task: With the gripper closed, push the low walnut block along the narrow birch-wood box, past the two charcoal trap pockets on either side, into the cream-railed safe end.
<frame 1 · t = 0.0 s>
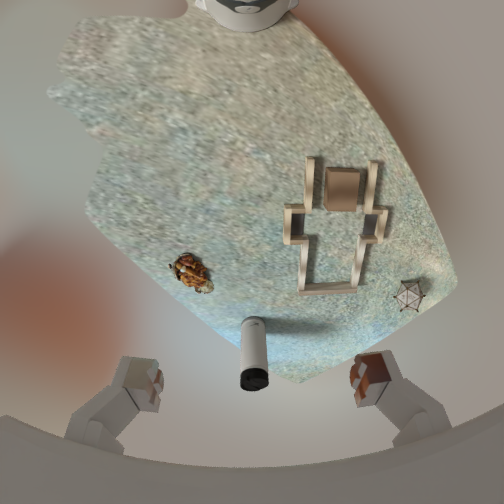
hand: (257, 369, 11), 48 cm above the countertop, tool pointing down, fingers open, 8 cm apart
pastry: (194, 272, 67), on the countertop
game die: (403, 286, 70), on the countertop
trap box: (334, 222, 60), on the countertop
travel mug: (252, 323, 75), on the countertop
walnut block: (338, 186, 56), on the countertop
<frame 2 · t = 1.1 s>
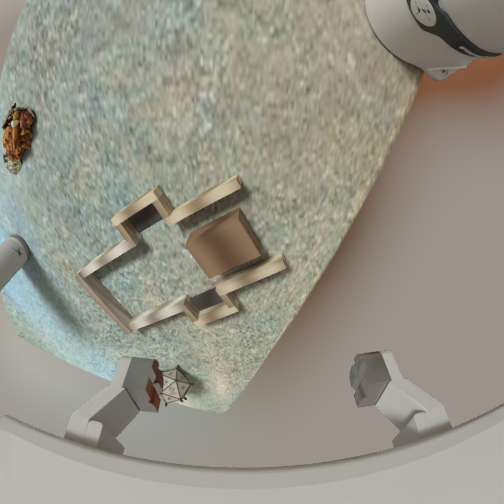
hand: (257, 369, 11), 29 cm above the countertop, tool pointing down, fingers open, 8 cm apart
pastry: (20, 139, 32), on the countertop
game die: (174, 370, 58), on the countertop
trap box: (179, 259, 43), on the countertop
travel mug: (19, 246, 42), on the countertop
walnut block: (225, 236, 41), on the countertop
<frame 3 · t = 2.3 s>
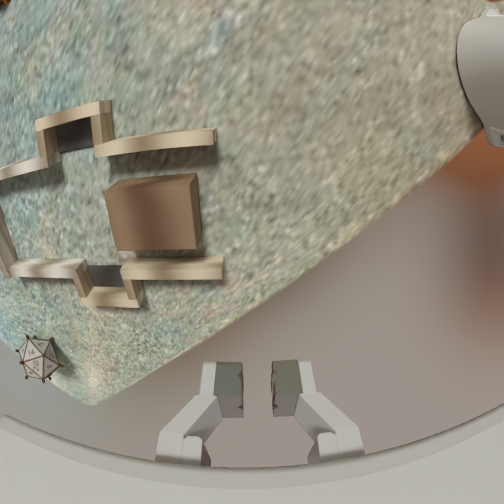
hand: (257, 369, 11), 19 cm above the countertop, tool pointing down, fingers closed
game die: (48, 341, 39), on the countertop
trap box: (92, 210, 27), on the countertop
walnut block: (161, 204, 28), on the countertop
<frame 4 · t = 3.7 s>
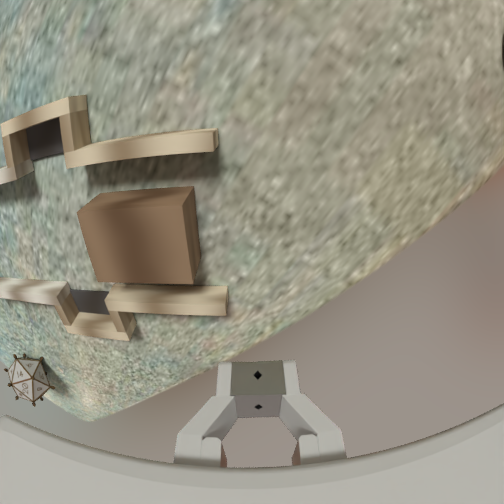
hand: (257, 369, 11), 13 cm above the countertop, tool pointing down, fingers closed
game die: (38, 360, 34), on the countertop
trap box: (71, 228, 22), on the countertop
walnut block: (150, 223, 22), on the countertop
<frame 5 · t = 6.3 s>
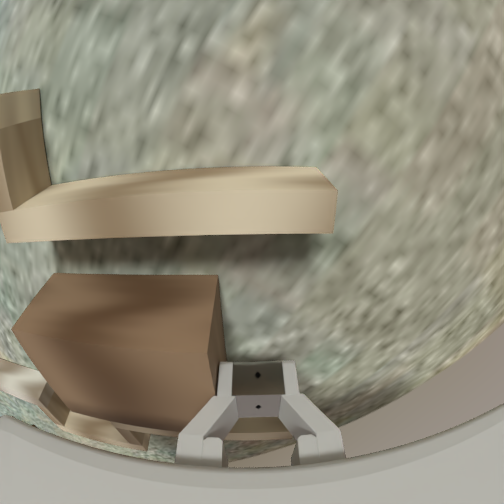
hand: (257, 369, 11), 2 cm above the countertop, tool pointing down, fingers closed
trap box: (42, 317, 13), on the countertop
walnut block: (140, 325, 13), on the countertop, touching gripper
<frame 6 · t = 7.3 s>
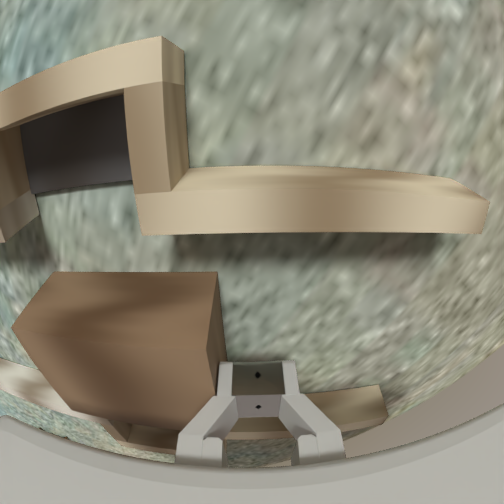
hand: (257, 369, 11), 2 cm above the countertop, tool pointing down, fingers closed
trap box: (128, 325, 13), on the countertop
walnut block: (140, 323, 13), on the countertop
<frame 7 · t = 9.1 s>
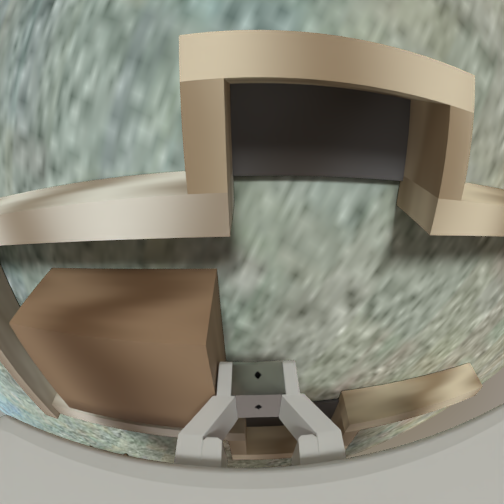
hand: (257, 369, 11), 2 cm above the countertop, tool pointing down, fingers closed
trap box: (306, 328, 13), on the countertop
walnut block: (139, 320, 13), on the countertop, touching gripper
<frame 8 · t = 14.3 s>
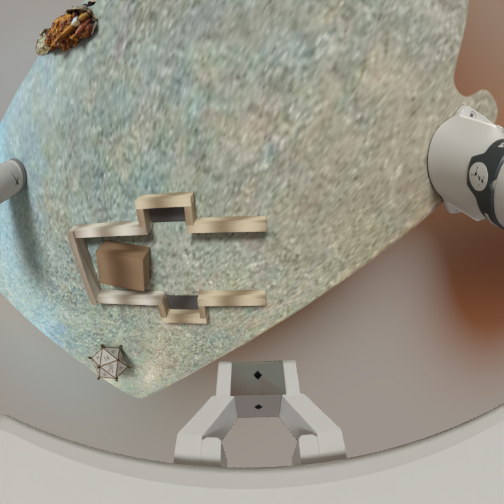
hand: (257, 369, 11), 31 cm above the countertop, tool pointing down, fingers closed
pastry: (67, 33, 26), on the countertop
game die: (114, 348, 56), on the countertop
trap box: (176, 260, 45), on the countertop
travel mug: (16, 173, 36), on the countertop
walnut block: (128, 258, 45), on the countertop
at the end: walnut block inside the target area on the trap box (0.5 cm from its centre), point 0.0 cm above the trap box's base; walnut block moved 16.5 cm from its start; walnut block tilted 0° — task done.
